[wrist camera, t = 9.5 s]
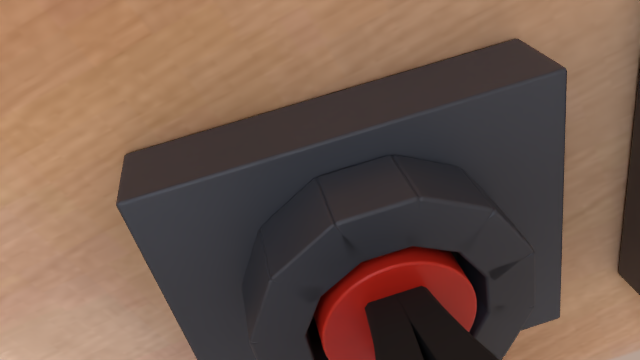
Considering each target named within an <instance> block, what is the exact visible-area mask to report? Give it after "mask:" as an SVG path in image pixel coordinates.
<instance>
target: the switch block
mask: <svg viewBox="0 0 640 360" xmlns="http://www.w3.org/2000/svg"><path fill="white" fill-rule="evenodd" d="M566 83H567V71H566V68H565V67H563V66H561V65H560V64H558V63H556V62H555V61H553V60H552V59H550V58H548V57H547V56H545V55H543V54H542V53H540V52H539V51H537V50H535V49H534V48H532V47H530V46H529V45H527V44H526V43H524V42H522V41H521V40H519V39H514V40H511V41H507V42H504V43H500V44H497V45H494V46H490V47H487V48H483V49H480V50H477V51H473V52H470V53H467V54H463V55H460V56H456V57H453V58H450V59H446V60H443V61H440V62H436V63H433V64H429V65H426V66H423V67H419V68H416V69H413V70H409V71H406V72H402V73H399V74H396V75H392V76H389V77H386V78H382V79H379V80H375V81H372V82H369V83H365V84H362V85H358V86H355V87H352V88H348V89H345V90H342V91H338V92H335V93H331V94H328V95H325V96H321V97H318V98H315V99H311V100H308V101H304V102H301V103H298V104H294V105H291V106H288V107H284V108H281V109H277V110H274V111H271V112H267V113H264V114H261V115H257V116H254V117H250V118H247V119H244V120H240V121H237V122H233V123H230V124H227V125H223V126H220V127H217V128H213V129H210V130H206V131H203V132H200V133H196V134H193V135H190V136H186V137H183V138H179V139H176V140H173V141H169V142H166V143H163V144H159V145H156V146H152V147H149V148H146V149H142V150H139V151H136V152H132V153H129V154H126V155H125V156H124V162H123V167H122V173H121V179H120V185H119V191H118V196H117V202H116V206H117V208H118V210H119V211H120V213H121V215H122V217H123V219H124V221H125V223H126V225H127V227H128V229H129V230H130V232H131V234H132V236H133V238H134V240H135V242H136V244H137V246H138V248H139V249H140V251H141V253H142V255H143V257H144V259H145V261H146V263H147V265H148V267H149V269H150V270H151V272H152V274H153V276H154V278H155V280H156V282H157V284H158V286H159V288H160V289H161V291H162V293H163V295H164V297H165V299H166V301H167V303H168V305H169V307H170V308H171V310H172V312H173V314H174V316H175V318H176V320H177V322H178V324H179V326H180V327H181V329H182V331H183V333H184V335H185V337H186V339H187V341H188V343H189V345H190V346H191V348H192V350H193V352H194V354H195V356H196V358H197V360H329V359H328V358H327V357H326V355H325V352H324V350H323V347H322V343H321V340H320V336H319V333H318V329H317V325H316V322H315V318H314V313H315V310H316V307H317V305H318V302H319V300H320V297H321V296H322V295H323V294H325V293H326V292H327V291H328V290H329V289H331V288H332V287H333V286H334V285H335V284H336V283H338V282H339V281H340V280H341V279H342V278H344V277H345V276H346V275H347V274H348V273H349V272H351V271H352V270H353V269H354V268H355V267H357V266H358V265H359V264H360V263H361V262H364V261H368V260H371V259H374V258H377V257H380V256H383V255H387V254H390V253H393V252H396V251H399V250H403V249H406V248H409V247H412V246H413V247H421V248H428V249H436V250H444V251H451V253H452V254H453V256H454V257H455V259H456V261H457V262H458V264H459V265H460V267H461V268H462V270H463V271H464V273H465V275H466V276H467V278H468V279H469V281H470V282H471V284H472V286H473V288H474V290H475V293H476V299H477V310H476V316H475V319H474V322H473V325H472V327H471V329H470V331H469V333H470V334H471V335H472V336H473V337H474V338H475V339H476V340H478V341H479V342H480V343H481V344H482V345H483V346H484V347H485V348H486V349H488V350H489V351H490V352H491V353H492V354H493V355H494V356H495V357H496V358H498V359H499V360H502V359H503V357H504V356H505V355H506V353H507V351H508V350H509V348H510V347H511V345H512V343H513V342H514V340H515V338H516V337H517V335H518V334H519V332H520V331H521V330H524V329H527V328H530V327H533V326H536V325H539V324H542V323H545V322H548V321H551V320H554V319H557V318H559V317H560V294H561V259H562V224H563V189H564V154H565V118H566Z"/></svg>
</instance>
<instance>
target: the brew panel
mask: <svg viewBox="0 0 640 360" xmlns="http://www.w3.org/2000/svg"><path fill="white" fill-rule="evenodd" d="M618 273H619V275H620V276H621V277H622V278H623V279H624V280H625V281H626V282H627V283H628V284H629V285H630V286H631V287H632V288H633V289H634V290H635V291H636V292H637V293H638V294H639V295H640V71H639V80H638V89H637V99H636V108H635V118H634V127H633V137H632V146H631V156H630V165H629V175H628V184H627V194H626V203H625V212H624V222H623V231H622V241H621V250H620V260H619V269H618Z"/></svg>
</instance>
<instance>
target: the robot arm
mask: <svg viewBox="0 0 640 360" xmlns="http://www.w3.org/2000/svg"><path fill="white" fill-rule="evenodd" d="M365 312H366V316H367V320H368V324H369V328H370V332H371V336H372V340H373V344H374V351H375V359H376V360H499V359H498V358H496V357H495V356H494V355H493V354H492V353H491V352H490V351H489V350H488V349H486V348H485V347H484V346H483V345H482V344H481V343H480V342H479V341H478V340H476V339H475V338H474V337H473V336H472V335H471V334H470V333H469V332H468V331H467V330H466V329H465V328H464V327H463V326H462V325H461V324H460V323H459V322H458V321H457V320H456V319H455V318H454V317H453V316H452V315H451V314H450V313H449V312H448V311H447V310H446V309H445V308H444V307H443V306H442V305H441V304H440V303H439V301H438V300H437V299H436V298H435V297H434V296H433V295H432V293H431V292H430V291H429V290H428V289H427V288H426V287H424V286H419V287H416V288H413V289H410V290H407V291H403V292H400V293H397V294H394V295H391V296H388V297H385V298H381V299H378V300H375V301H372V302H369V303H368V304H367V305H366V307H365Z"/></svg>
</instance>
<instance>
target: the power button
mask: <svg viewBox="0 0 640 360" xmlns="http://www.w3.org/2000/svg"><path fill="white" fill-rule="evenodd" d="M419 286H424V287H426V288H427V289H428V290H429V291H430V292H431V293H432V295H433V296H434V297H435V298H436V299H437V300H438V301H439V303H440V304H441V305H442V306H443V307H444V308H445V309H446V310H447V311H448V312H449V313H450V314H451V315H452V316H453V317H454V318H455V319H456V320H457V321H458V322H459V323H460V324H461V325H462V326H463V327H464V328H465V329H466V330H467V331H468V332H469V331H470V329H471V327H472V325H473V322H474V319H475V316H476V310H477V299H476V293H475V290H474V288H473V286H472V284H471V282H470V281H469V279H468V278H467V276H466V275H465V273H464V271H463V270H462V268H461V267H460V265H459V264H458V262H457V261H456V259H455V257H454V256H453V254H452V253H451V251H444V250H436V249H428V248H421V247H413V246H412V247H409V248H406V249H403V250H399V251H396V252H393V253H390V254H387V255H383V256H380V257H377V258H374V259H371V260H368V261H364V262H361V263H360V264H359V265H358V266H357V267H355V268H354V269H353V270H352V271H351V272H349V273H348V274H347V275H346V276H345V277H344V278H342V279H341V280H340V281H339V282H338V283H336V284H335V285H334V286H333V287H332V288H331V289H329V290H328V291H327V292H326V293H325V294H323V295H322V296H321V297H320V300H319V302H318V305H317V307H316V310H315V313H314V318H315V322H316V325H317V329H318V333H319V336H320V340H321V343H322V347H323V350H324V352H325V355H326V357H327V358H328V359H329V360H376V359H375V351H374V344H373V340H372V336H371V332H370V328H369V324H368V320H367V316H366V312H365V307H366V305H367V304H368V303H369V302H372V301H375V300H378V299H381V298H385V297H388V296H391V295H394V294H397V293H400V292H403V291H407V290H410V289H413V288H416V287H419Z"/></svg>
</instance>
